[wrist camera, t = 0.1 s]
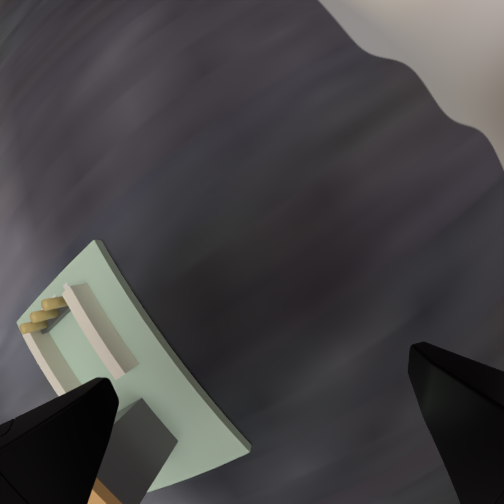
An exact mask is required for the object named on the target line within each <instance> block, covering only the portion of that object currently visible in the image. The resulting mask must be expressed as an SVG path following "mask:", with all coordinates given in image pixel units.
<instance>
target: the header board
mask: <svg viewBox="0 0 504 504" xmlns="http://www.w3.org/2000/svg"><path fill="white" fill-rule="evenodd" d="M16 323H17V325H18V327H19V329H20V331H21V333H22V334H23V337H24V339H25V341H26V343H27V345H28V347H29V349H30V350H31V352H32V354H33V356H34V358H35V359H36V361H37V363H38V364H39V366H40V368H41V369H42V371H43V373H44V374H45V376H46V378H47V379H48V381H49V382H50V384H51V385H52V387H53V389H54V390H55V392H56V393H57V395H58V396H61V395H63V394H65V393H67V392H69V391H71V390H73V389H75V388H77V387H79V386H80V385H82V384H84V383H86V382H88V381H90V380H92V379H94V378H96V377H107V378H109V379H110V381H111V383H112V385H113V387H114V389H115V391H116V394H117V396H118V398H119V407H118V410H117V412H118V411H120V410H121V409H123V408H125V407H127V406H128V405H130V404H132V403H133V402H135V401H137V400H139V399H140V398H143V400H144V401H145V402H146V403H147V405H148V406H149V407H150V408H151V410H152V411H153V412H154V413H155V415H156V416H157V417H158V418H159V419H160V421H161V422H162V423H163V424H164V425H165V426H166V428H167V429H168V430H169V431H170V432H171V433H172V434H173V436H174V437H175V438H176V439H177V440H178V443H177V444H176V446H175V447H174V449H173V451H172V452H171V454H170V456H169V457H168V459H167V461H166V462H165V464H164V465H163V467H162V469H161V470H160V472H159V474H158V475H157V477H156V478H155V480H154V482H153V483H152V485H151V486H150V488H149V490H148V491H147V492H150V491H153V490H156V489H159V488H163V487H166V486H169V485H171V484H174V483H177V482H180V481H183V480H186V479H188V478H191V477H194V476H196V475H199V474H201V473H204V472H206V471H209V470H211V469H214V468H216V467H218V466H221V465H223V464H225V463H228V462H230V461H232V460H234V459H237V458H239V457H241V456H243V455H245V454H247V453H249V452H250V449H251V444H250V443H249V442H248V441H247V440H246V439H245V437H244V436H243V435H242V434H241V433H240V432H239V431H238V430H237V429H236V427H235V426H234V425H233V424H232V423H231V422H230V421H229V419H228V418H227V417H226V416H225V415H224V414H223V413H222V411H221V410H220V409H219V408H218V407H217V405H216V404H215V403H214V402H213V401H212V399H211V398H210V397H209V396H208V395H207V393H206V392H205V391H204V390H203V388H202V387H201V386H200V385H199V384H198V382H197V381H196V380H195V378H194V377H193V376H192V375H191V373H190V372H189V371H188V369H187V368H186V367H185V366H184V364H183V363H182V362H181V360H180V359H179V358H178V356H177V355H176V354H175V352H174V351H173V350H172V348H171V347H170V345H169V344H168V343H167V341H166V340H165V339H164V337H163V336H162V334H161V333H160V332H159V330H158V329H157V327H156V326H155V324H154V323H153V322H152V320H151V319H150V317H149V316H148V314H147V313H146V311H145V310H144V308H143V307H142V305H141V304H140V302H139V301H138V299H137V298H136V296H135V295H134V293H133V292H132V290H131V288H130V287H129V285H128V284H127V282H126V281H125V279H124V277H123V276H122V274H121V273H120V271H119V269H118V268H117V266H116V264H115V263H114V261H113V259H112V258H111V256H110V254H109V253H108V251H107V249H106V247H105V246H104V244H103V242H102V240H93V241H92V242H91V243H90V244H89V245H88V246H87V247H86V248H85V249H84V250H83V251H82V252H81V253H80V254H79V255H78V256H77V257H76V258H75V259H74V260H73V261H72V262H71V263H70V264H69V265H68V266H67V267H66V268H65V269H64V270H63V271H62V272H61V273H60V274H59V275H58V276H57V277H56V278H55V279H54V281H53V282H52V283H51V284H50V285H49V286H48V287H47V288H46V289H45V290H44V291H43V292H42V294H41V295H40V296H39V297H38V298H37V299H36V300H35V301H34V302H33V304H32V305H31V306H30V307H29V308H28V309H27V311H26V312H25V313H24V314H23V315H22V316H21V318H20V319H19V320H18V321H17V322H16Z"/></svg>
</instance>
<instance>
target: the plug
mask: <svg viewBox="0 0 504 504" xmlns="http://www.w3.org/2000/svg"><path fill="white" fill-rule="evenodd" d="M177 443H178V440H177V439H176V438H175V437H174V436H173V434H172V433H171V432H170V431H169V430H168V429H167V428H166V426H165V425H164V424H163V423H162V422H161V421H160V419H159V418H158V417H157V416H156V415H155V413H154V412H153V411H152V410H151V408H150V407H149V406H148V405H147V403H146V402H145V401H144V400H143V398H140V399H139V400H137V401H135V402H133V403H132V404H130V405H128V406H127V407H125V408H123V409H121V410H120V411H118V412H117V414H116V418H115V422H114V425H113V429H112V433H111V437H110V441H109V444H108V447H107V450H106V452H105V455H104V458H103V461H102V463H101V466H100V469H99V472H98V475H97V477H96V480H95V483H94V486H93V489H92V492H91V495H90V498H89V501H88V504H140V502H141V501H142V499H143V497H144V496H145V494H146V493H147V491H148V490H149V488H150V486H151V485H152V483H153V482H154V480H155V478H156V477H157V475H158V474H159V472H160V470H161V469H162V467H163V465H164V464H165V462H166V461H167V459H168V457H169V456H170V454H171V452H172V451H173V449H174V447H175V446H176V444H177Z"/></svg>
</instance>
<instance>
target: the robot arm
mask: <svg viewBox="0 0 504 504" xmlns="http://www.w3.org/2000/svg"><path fill="white" fill-rule="evenodd" d="M408 374H409V378H410V381H411V383H412V386H413V389H414V392H415V395H416V398H417V401H418V404H419V407H420V410H421V413H422V415H423V418H424V420H425V422H426V425H427V427H428V429H429V431H430V433H431V435H432V437H433V440H434V442H435V444H436V446H437V448H438V451H439V453H440V455H441V457H442V460H443V462H444V464H445V467H446V469H447V471H448V474H449V476H450V479H451V481H452V483H453V486H454V488H455V491H456V493H457V496H458V498H459V501H460V504H504V371H501V370H499V369H496V368H493V367H490V366H488V365H485V364H482V363H479V362H477V361H474V360H471V359H469V358H466V357H463V356H461V355H458V354H455V353H453V352H450V351H447V350H445V349H442V348H439V347H437V346H434V345H432V344H429V343H426V342H420V343H416V344H413V345H411V347H410V351H409V363H408ZM118 407H119V398H118V396H117V394H116V391H115V389H114V387H113V385H112V383H111V381H110V379H109V378H107V377H96V378H94V379H92V380H90V381H88V382H86V383H84V384H82V385H80V386H79V387H77V388H75V389H73V390H71V391H69V392H67V393H65V394H63V395H61V396H59V397H57V398H55V399H53V400H51V401H49V402H47V403H45V404H43V405H41V406H39V407H37V408H35V409H33V410H30V411H28V412H26V413H24V414H22V415H20V416H18V417H16V418H15V419H12V420H10V421H7V422H5V423H3V424H1V425H0V504H88V501H89V498H90V495H91V492H92V489H93V486H94V483H95V480H96V477H97V475H98V472H99V469H100V466H101V463H102V461H103V458H104V455H105V452H106V450H107V447H108V444H109V441H110V437H111V433H112V429H113V425H114V422H115V418H116V414H117V410H118Z"/></svg>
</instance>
